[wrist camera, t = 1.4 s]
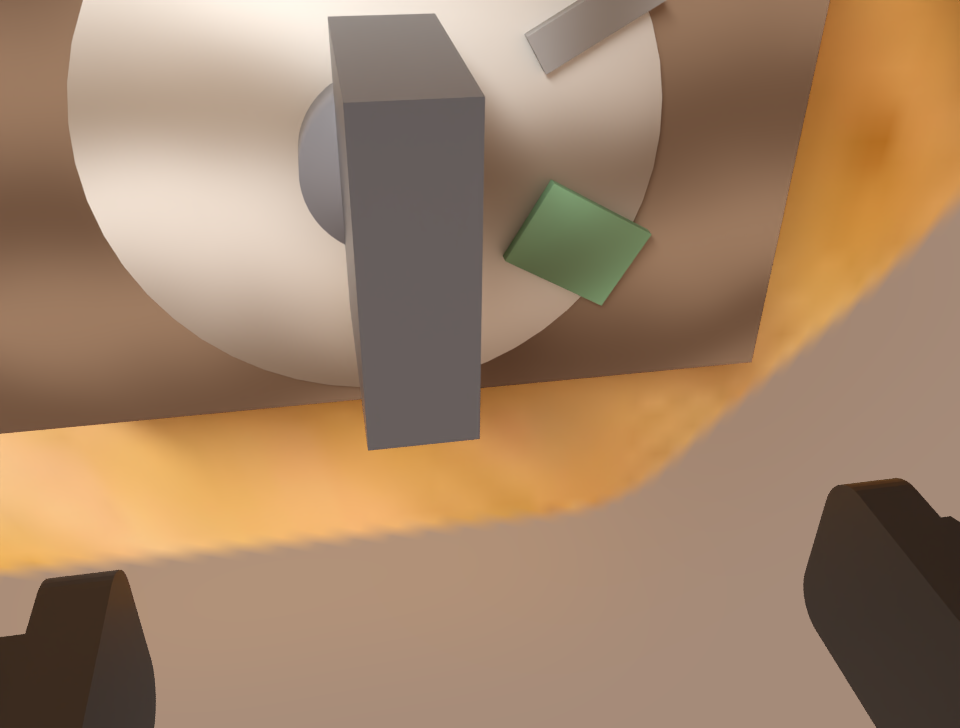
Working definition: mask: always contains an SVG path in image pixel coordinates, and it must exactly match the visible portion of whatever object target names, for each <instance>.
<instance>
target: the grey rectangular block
mask: <svg viewBox="0 0 960 728" xmlns="http://www.w3.org/2000/svg"><path fill="white" fill-rule="evenodd" d="M328 30H329V43H330V56H331V69H332V81H333V83H331V84H330V85H329V86H327V87H326V88H325V89H324V90H323V91H322V92H321V93H320V94H319V95H318V96H317V97H316V99H315V100H314V101H313V102H312V104H311V105H310V107H309V109H308V111H307V112H306V114H305V117H304V119H303V122H302V124H301V128H300V132H299V138H298V167H299V182H300V188H301V192H302V195H303V198H304V201H305V203H306V205H307V207H308V210H309V211H310V213H311V214H312V216H313V217H314V219H315V220H316V222H317V223H318V224H319V225H320V226H321V227H322V228H323V229H324V230H325V231H326V232H327V233H328V234H329V235H330V236H332V237H333V238H335V239H336V240H338V241H339V242H341V243H343V244H345V249H346V262H347V275H348V288H349V301H350V311H351V319H352V327H353V335H354V343H355V351H356V359H357V367H358V375H359V383H360V391H361V398H362V406H363V414H364V422H365V430H366V438H367V446H368V450H378V449H388V448H397V447H407V446H416V445H426V444H436V443H445V442H455V441H464V440H474V439H480V382H481V320H482V258H483V196H484V135H485V96H484V94H483V92H482V91H481V89H480V87H479V86H478V84H477V82H476V81H475V79H474V77H473V76H472V74H471V72H470V71H469V69H468V67H467V66H466V64H465V62H464V61H463V59H462V57H461V56H460V54H459V52H458V51H457V49H456V47H455V46H454V44H453V42H452V41H451V39H450V37H449V36H448V34H447V32H446V31H445V29H444V27H443V26H442V24H441V23H440V21H439V19H438V18H437V16H436V14H435V13H432V14H398V15H363V16H328Z"/></svg>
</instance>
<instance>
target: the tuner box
mask: <svg viewBox="0 0 960 728" xmlns="http://www.w3.org/2000/svg"><path fill="white" fill-rule="evenodd" d="M829 2H830V0H0V434H2V433H13V432H23V431H34V430H44V429H55V428H65V427H76V426H86V425H97V424H107V423H118V422H128V421H139V420H149V419H160V418H170V417H181V416H191V415H202V414H212V413H223V412H233V411H244V410H254V409H264V408H275V407H285V406H296V405H306V404H317V403H327V402H338V401H348V400H359V399H362V398H361V391H360V383H359V375H358V367H357V359H356V351H355V343H354V335H353V327H352V319H351V311H350V301H349V288H348V275H347V262H346V249H345V244H343V243H341V242H339V241H338V240H336V239H335V238H333V237H332V236H330V235H329V234H328V233H327V232H326V231H325V230H324V229H323V228H322V227H321V226H320V225H319V224H318V223H317V222H316V220H315V219H314V217H313V216H312V214H311V213H310V211H309V210H308V207H307V205H306V203H305V201H304V198H303V195H302V192H301V188H300V182H299V167H298V138H299V132H300V128H301V124H302V122H303V119H304V117H305V114H306V112H307V111H308V109H309V107H310V105H311V104H312V102H313V101H314V100H315V99H316V97H317V96H318V95H319V94H320V93H321V92H322V91H323V90H324V89H325V88H326V87H327V86H329V85H330V84H331V83H333V81H332V69H331V56H330V43H329V30H328V16H363V15H398V14H432V13H435V14H436V16H437V18H438V19H439V21H440V23H441V24H442V26H443V27H444V29H445V31H446V32H447V34H448V36H449V37H450V39H451V41H452V42H453V44H454V46H455V47H456V49H457V51H458V52H459V54H460V56H461V57H462V59H463V61H464V62H465V64H466V66H467V67H468V69H469V71H470V72H471V74H472V76H473V77H474V79H475V81H476V82H477V84H478V86H479V87H480V89H481V91H482V92H483V94H484V96H485V135H484V196H483V258H482V320H481V382H480V388H485V387H495V386H506V385H516V384H527V383H537V382H548V381H558V380H569V379H579V378H590V377H600V376H611V375H621V374H632V373H642V372H653V371H663V370H673V369H684V368H694V367H705V366H715V365H726V364H736V363H747V362H752V357H753V353H754V348H755V343H756V339H757V334H758V330H759V325H760V320H761V316H762V311H763V306H764V302H765V297H766V293H767V288H768V283H769V279H770V274H771V270H772V265H773V260H774V256H775V251H776V246H777V242H778V237H779V233H780V228H781V223H782V219H783V214H784V210H785V205H786V200H787V196H788V191H789V186H790V182H791V177H792V173H793V168H794V163H795V159H796V154H797V150H798V145H799V140H800V136H801V131H802V126H803V122H804V117H805V113H806V108H807V103H808V99H809V94H810V90H811V85H812V80H813V76H814V71H815V66H816V62H817V57H818V53H819V48H820V43H821V39H822V34H823V29H824V25H825V20H826V16H827V11H828V6H829Z"/></svg>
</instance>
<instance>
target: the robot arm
mask: <svg viewBox="0 0 960 728" xmlns="http://www.w3.org/2000/svg"><path fill="white" fill-rule="evenodd" d="M803 585H804V598H805V603H806V607H807V611H808V614H809V617H810V619H811V621H812V624H813V626H814V627H815V629H816V631H817V633H818V634H819V636H820V638H821V639H822V641H823V642H824V644H825V646H826V647H827V649H828V650H829V652H830V654H831V655H832V657H833V658H834V660H835V661H836V663H837V665H838V666H839V668H840V670H841V671H842V673H843V674H844V676H845V677H846V679H847V681H848V683H849V684H850V686H851V687H852V689H853V691H854V692H855V694H856V695H857V697H858V699H859V700H860V702H861V704H862V705H863V707H864V708H865V710H866V712H867V713H868V715H869V716H870V718H871V719H872V721H873V723H874V724H875V726H876V728H960V522H959V521H957V520H956V519H954V518H952V517H951V516H949V517H942V518H941V517H940V516H939V515H938V514H937V513H936V512H935V510H934V509H933V508H932V507H931V506H930V505H929V504H928V502H927V501H926V500H925V499H924V498H923V497H922V496H921V495H920V493H919V492H918V491H917V490H916V489H915V488H914V487H913V486H912V485H911V484H910V483H908V482H907V481H905V480H903V479H899V478H893V479H885V480H876V481H868V482H860V483H852V484H844V485H838V486H836V487H834V488H833V489H832V490H831V491H830V493H829V494H828V497H827V500H826V503H825V507H824V510H823V514H822V517H821V520H820V524H819V527H818V530H817V534H816V537H815V540H814V544H813V547H812V551H811V554H810V557H809V561H808V564H807V568H806V571H805V576H804V584H803ZM155 711H156V694H155V678H154V671H153V665H152V661H151V657H150V654H149V651H148V647H147V644H146V641H145V637H144V633H143V630H142V626H141V623H140V619H139V616H138V612H137V609H136V606H135V602H134V599H133V595H132V592H131V588H130V585H129V582H128V579H127V577H126V574H125V573H124V572H123V571H122V570H115V571H107V572H99V573H90V574H82V575H74V576H65V577H58V578H49V579H46V580H44V581H43V583H42V584H41V586H40V588H39V590H38V593H37V596H36V599H35V603H34V606H33V610H32V613H31V616H30V620H29V623H28V626H27V630H26V633H25V634H21V635H14V636H6V637H0V728H154V724H155Z"/></svg>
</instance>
